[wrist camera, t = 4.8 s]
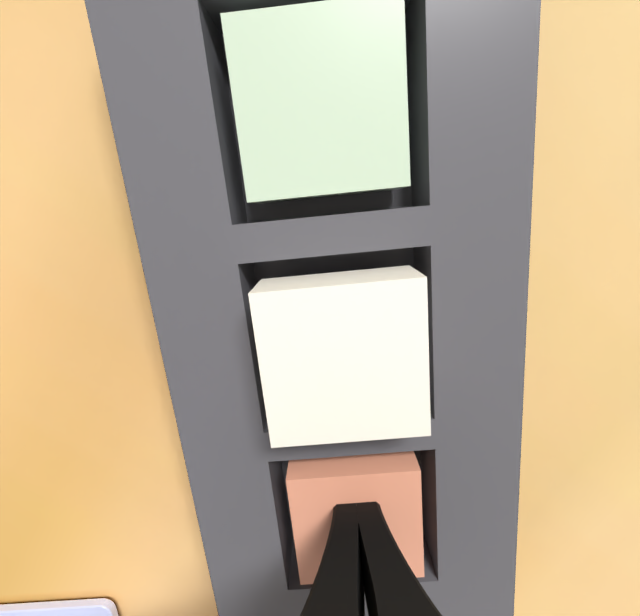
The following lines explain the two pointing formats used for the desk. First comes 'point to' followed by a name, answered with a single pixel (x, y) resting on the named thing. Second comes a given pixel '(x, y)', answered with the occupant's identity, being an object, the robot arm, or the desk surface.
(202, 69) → the keypad
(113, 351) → the desk surface
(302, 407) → the cream key
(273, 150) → the sage key
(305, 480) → the terracotta key
